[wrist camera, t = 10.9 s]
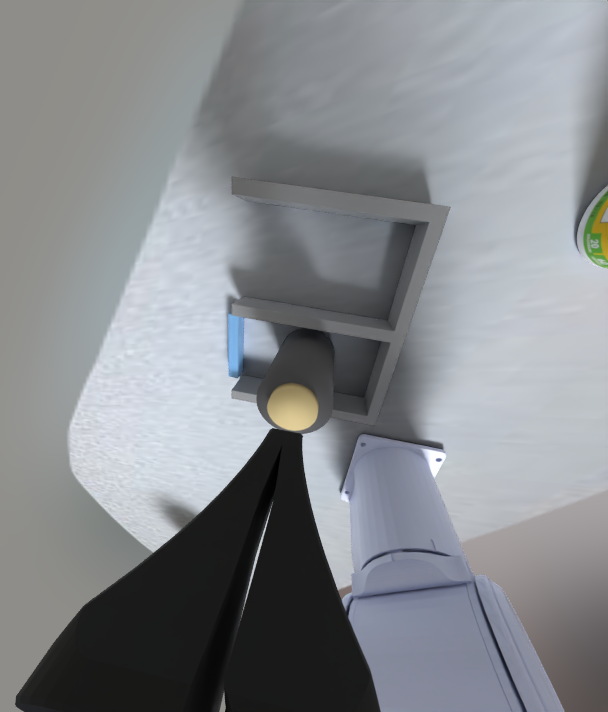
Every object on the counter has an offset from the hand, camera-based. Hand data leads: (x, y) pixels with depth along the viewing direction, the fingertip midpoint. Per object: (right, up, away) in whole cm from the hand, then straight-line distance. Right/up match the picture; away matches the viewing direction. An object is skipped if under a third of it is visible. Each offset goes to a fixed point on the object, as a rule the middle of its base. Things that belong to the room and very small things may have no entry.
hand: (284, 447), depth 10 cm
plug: (+1, +4, +9) cm, 10 cm away
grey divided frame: (+2, +7, +8) cm, 11 cm away
